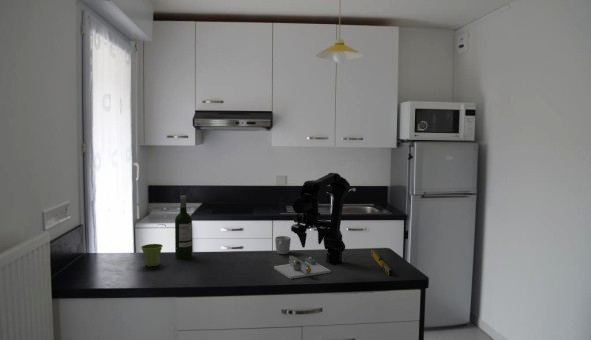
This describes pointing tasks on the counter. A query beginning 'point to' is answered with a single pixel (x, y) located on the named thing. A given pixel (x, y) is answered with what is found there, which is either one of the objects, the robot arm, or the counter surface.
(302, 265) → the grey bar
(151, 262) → the plant pot
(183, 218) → the wine bottle
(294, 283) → the counter surface
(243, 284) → the counter surface
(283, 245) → the cup
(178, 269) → the counter surface
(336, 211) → the robot arm
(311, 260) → the white mechanism board
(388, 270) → the spirit level
